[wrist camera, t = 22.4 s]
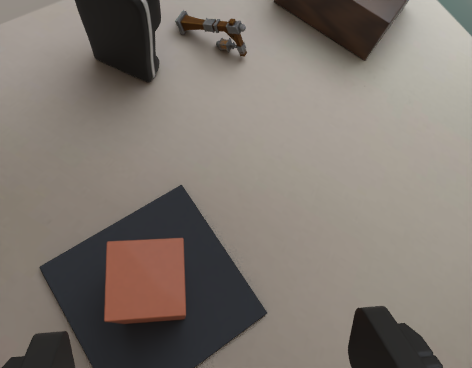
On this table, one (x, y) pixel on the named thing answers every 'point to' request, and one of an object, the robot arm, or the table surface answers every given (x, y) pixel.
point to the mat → (161, 332)
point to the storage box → (348, 20)
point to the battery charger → (123, 33)
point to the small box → (145, 281)
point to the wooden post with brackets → (214, 25)
